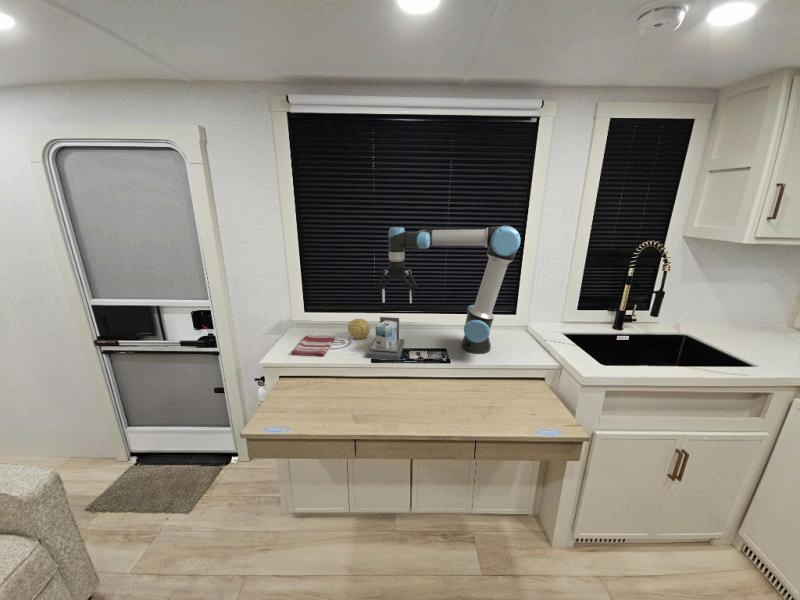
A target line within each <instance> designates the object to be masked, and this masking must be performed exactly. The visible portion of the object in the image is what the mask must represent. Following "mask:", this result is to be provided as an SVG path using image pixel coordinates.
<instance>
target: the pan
mask: <svg viewBox="0 0 800 600" xmlns="http://www.w3.org/2000/svg"><path fill="white" fill-rule="evenodd" d="M374 339H375V338H374ZM400 339H401V338H399V339H397V342H395V343H394V344H392V345H391V346H389V347H388V348H383V347H379V346H376V339H375V341H374V340H373V341H374V343H373V342H372V343H373V345H372V347H371V350H377V351H391V352H397V351H398V348H399V345H400V341H401V340H400Z"/></svg>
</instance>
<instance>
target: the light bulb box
mask: <svg viewBox="0 0 800 600" xmlns="http://www.w3.org/2000/svg"><path fill="white" fill-rule="evenodd" d="M375 337H376V346H379V347H383V348H388V347H389V346H391V345H392V344H394V343H395V342H397V322H393V321H389V320H385V321H384V322H382V323H380V322H379V324H376V325H375Z"/></svg>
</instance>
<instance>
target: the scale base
mask: <svg viewBox="0 0 800 600" xmlns="http://www.w3.org/2000/svg"><path fill="white" fill-rule="evenodd" d="M385 320H389V321H393V322H397V339H400V340H401V341H400V345H399V348H398V351H397V352H391V351H377V350H371V347H372V345H373V343H374V341H375V339H376V336H374V338H373V341H372V343H371V345H370V347H369V348H368V351H367V352H366V358H367V359H376V360H392V361H400V360H401V356H402V353H403V349H404V345H405V339H404V338H400V317H392V316H391V317H390V316H389V317H388V316H379V324H380V323H382V322H384V321H385Z"/></svg>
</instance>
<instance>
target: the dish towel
mask: <svg viewBox="0 0 800 600" xmlns="http://www.w3.org/2000/svg"><path fill="white" fill-rule="evenodd" d="M336 338H337V337H336V336H334V335H313V334H306V335H304V337H303V338H302V340H301V341H300V342H299V343H298V344H297V345H296V347H295V348H294V349H292V350H291V351H290V353H291V356H302V357H319V358H322V357H325V355H326V354H327V352H328V351H329V349H330V348H331V347H332V344H333V343H334V342H335V340H336Z"/></svg>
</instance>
